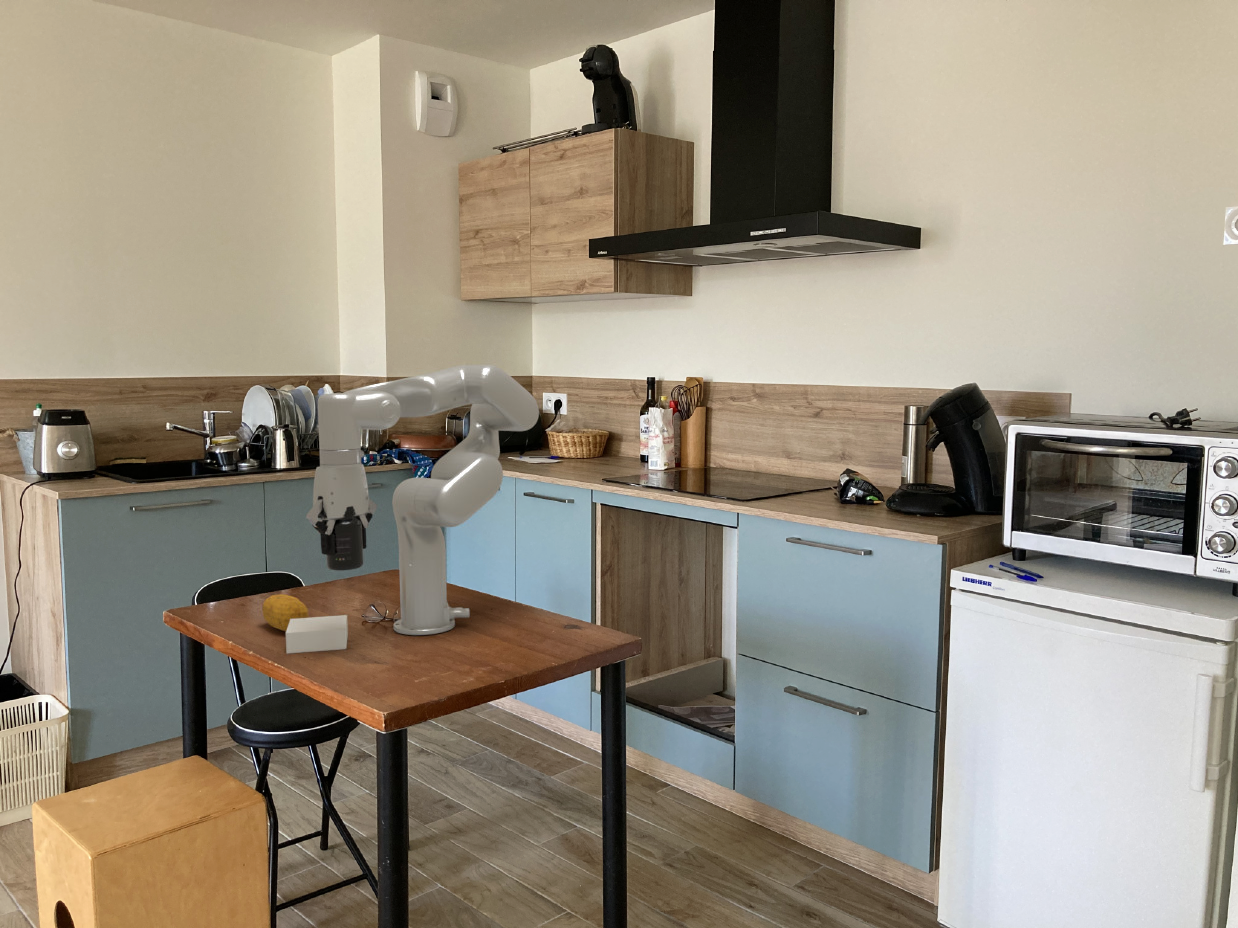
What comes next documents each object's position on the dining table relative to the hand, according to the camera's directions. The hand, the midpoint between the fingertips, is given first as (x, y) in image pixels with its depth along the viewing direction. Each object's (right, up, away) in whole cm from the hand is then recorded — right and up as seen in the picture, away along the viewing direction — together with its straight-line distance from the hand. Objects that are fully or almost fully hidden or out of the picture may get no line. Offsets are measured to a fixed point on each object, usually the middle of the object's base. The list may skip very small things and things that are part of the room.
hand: (344, 550), depth 182 cm
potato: (-17, -18, +17) cm, 31 cm away
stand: (-7, -19, +7) cm, 21 cm away
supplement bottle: (0, -3, 0) cm, 3 cm away
